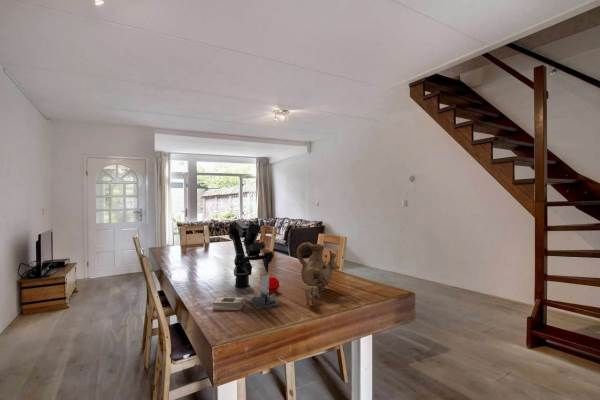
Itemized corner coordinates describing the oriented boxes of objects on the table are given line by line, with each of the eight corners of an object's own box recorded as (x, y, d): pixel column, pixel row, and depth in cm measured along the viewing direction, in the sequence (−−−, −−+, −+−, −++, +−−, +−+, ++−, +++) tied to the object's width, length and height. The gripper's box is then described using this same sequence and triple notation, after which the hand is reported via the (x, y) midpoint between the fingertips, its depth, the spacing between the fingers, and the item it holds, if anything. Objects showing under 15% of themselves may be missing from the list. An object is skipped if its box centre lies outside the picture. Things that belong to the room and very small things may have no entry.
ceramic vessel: (317, 297, 148) (317, 245, 148) (290, 289, 161) (290, 242, 162) (340, 289, 161) (340, 242, 162) (313, 283, 174) (313, 239, 175)
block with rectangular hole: (217, 304, 138) (217, 297, 138) (243, 303, 138) (243, 297, 138) (212, 309, 131) (212, 302, 131) (240, 309, 131) (240, 302, 131)
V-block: (248, 302, 140) (248, 293, 140) (270, 299, 145) (270, 290, 145) (255, 309, 131) (255, 299, 131) (279, 305, 136) (279, 296, 136)
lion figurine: (315, 308, 132) (315, 287, 132) (303, 307, 133) (303, 286, 133) (321, 298, 146) (320, 279, 146) (310, 297, 147) (310, 278, 148)
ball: (264, 294, 152) (264, 279, 153) (261, 290, 160) (261, 275, 160) (280, 293, 155) (280, 278, 155) (276, 289, 162) (276, 274, 163)
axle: (261, 300, 140) (262, 273, 140) (269, 301, 139) (270, 274, 139) (258, 302, 136) (259, 275, 136) (266, 303, 135) (267, 276, 135)
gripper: (235, 237, 145) (242, 264, 135) (272, 235, 154) (281, 260, 143) (231, 251, 152) (237, 278, 142) (266, 249, 160) (274, 274, 150)
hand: (258, 272), depth 144 cm, fingers open, 9 cm apart
